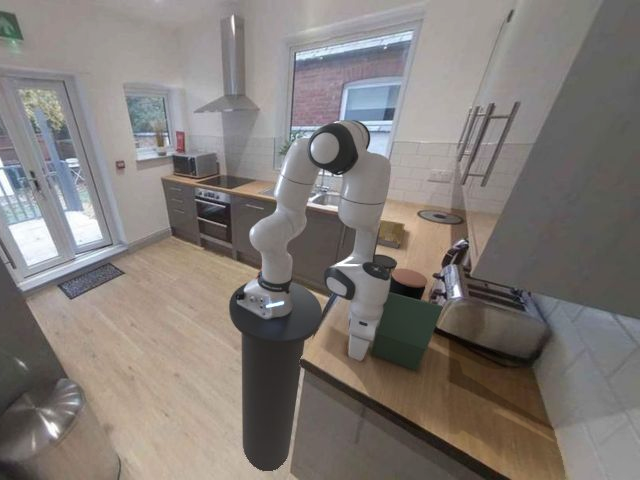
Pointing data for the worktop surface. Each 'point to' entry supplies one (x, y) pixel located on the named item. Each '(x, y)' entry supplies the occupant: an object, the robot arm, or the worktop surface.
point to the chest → (396, 351)
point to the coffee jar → (407, 283)
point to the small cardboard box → (392, 228)
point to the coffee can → (386, 262)
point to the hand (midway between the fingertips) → (355, 347)
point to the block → (347, 347)
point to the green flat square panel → (409, 320)
